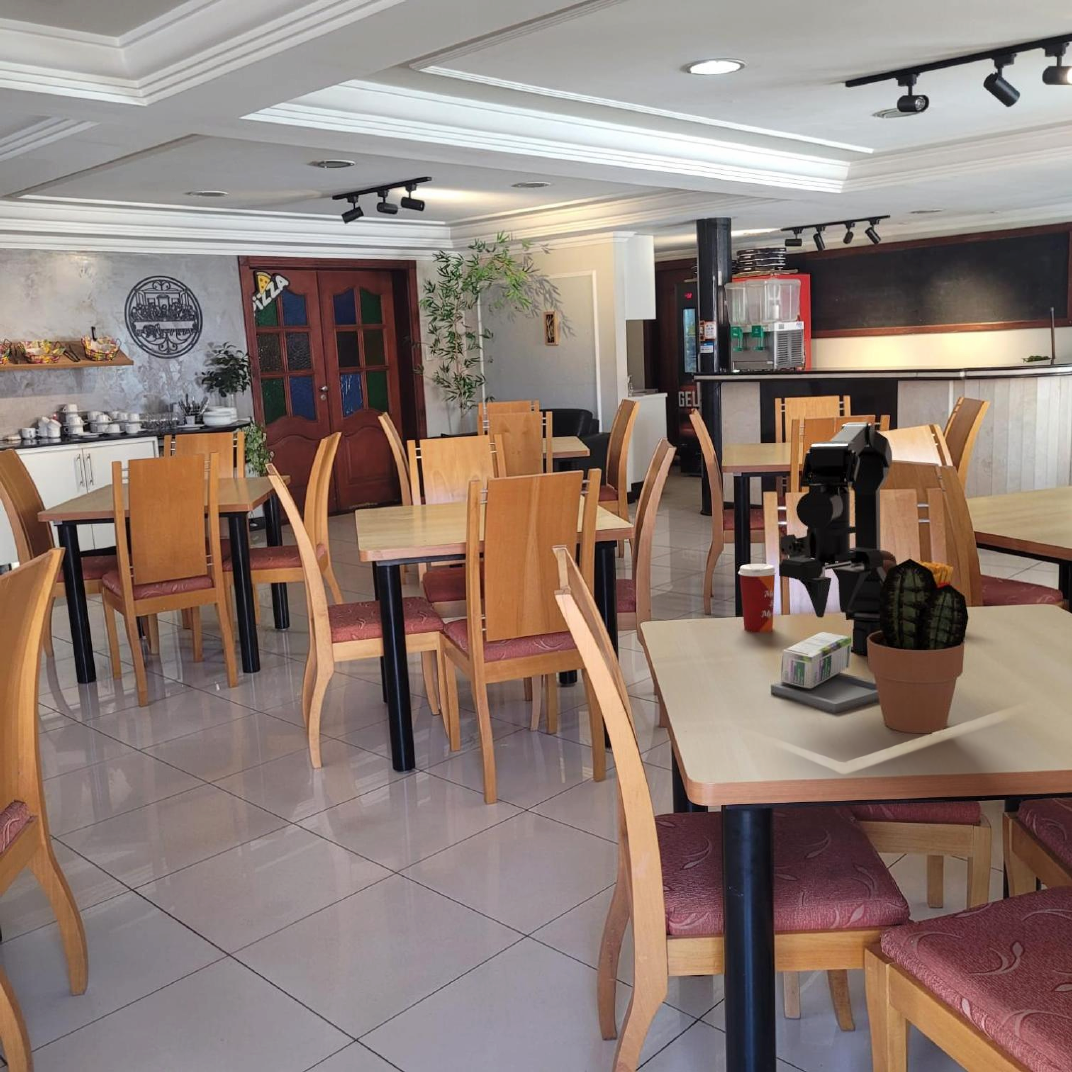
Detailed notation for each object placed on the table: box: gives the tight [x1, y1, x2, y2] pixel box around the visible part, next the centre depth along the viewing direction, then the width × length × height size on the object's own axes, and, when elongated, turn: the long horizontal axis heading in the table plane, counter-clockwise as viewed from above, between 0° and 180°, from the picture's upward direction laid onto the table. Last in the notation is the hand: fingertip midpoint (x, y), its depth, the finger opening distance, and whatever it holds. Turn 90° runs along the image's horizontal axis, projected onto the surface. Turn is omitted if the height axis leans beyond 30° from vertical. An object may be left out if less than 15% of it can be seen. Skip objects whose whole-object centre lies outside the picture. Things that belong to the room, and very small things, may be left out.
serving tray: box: [770, 672, 880, 714], centre depth 175 cm, size 14×14×2 cm
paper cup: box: [737, 563, 777, 633], centre depth 218 cm, size 8×8×14 cm
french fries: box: [914, 560, 954, 588], centre depth 217 cm, size 9×4×13 cm, turn 55°
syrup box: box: [780, 631, 852, 688], centre depth 181 cm, size 6×6×14 cm
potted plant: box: [867, 558, 969, 734], centre depth 157 cm, size 14×14×25 cm
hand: (832, 614), depth 174 cm, fingers open, 5 cm apart
